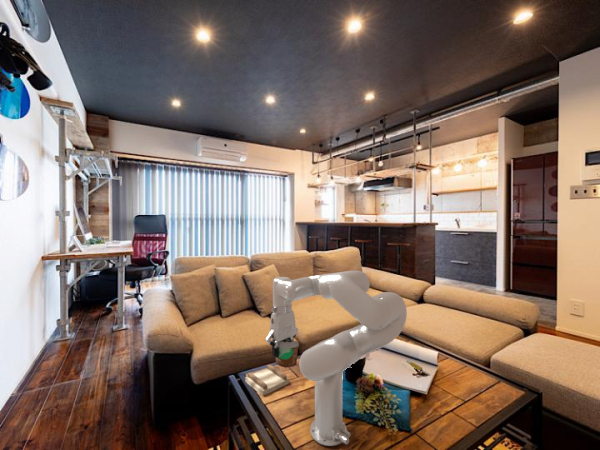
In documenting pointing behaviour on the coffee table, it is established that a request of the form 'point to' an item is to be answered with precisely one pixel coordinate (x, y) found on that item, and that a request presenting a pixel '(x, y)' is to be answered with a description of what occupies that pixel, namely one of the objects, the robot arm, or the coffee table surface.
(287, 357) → the food container
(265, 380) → the base plate
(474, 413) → the coffee table surface
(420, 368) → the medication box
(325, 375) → the robot arm
